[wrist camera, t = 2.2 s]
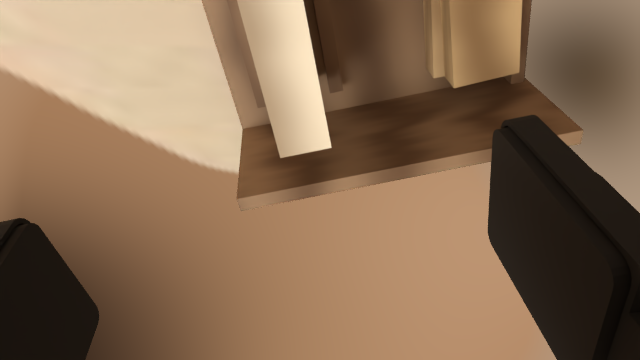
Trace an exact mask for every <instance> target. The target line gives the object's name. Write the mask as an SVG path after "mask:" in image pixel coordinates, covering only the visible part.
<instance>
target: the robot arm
mask: <svg viewBox="0 0 640 360" xmlns="http://www.w3.org/2000/svg"><path fill="white" fill-rule="evenodd" d="M488 235H489V239H490V242H491V245H492V246H493V248H494V250H495V252H496V254H497V255H498V257H499V259H500V260H501V262H502V264H503V266H504V268H505V269H506V271H507V273H508V274H509V276H510V278H511V280H512V282H513V283H514V285H515V287H516V289H517V290H518V292H519V294H520V295H521V297H522V299H523V301H524V303H525V304H526V306H527V308H528V310H529V311H530V313H531V315H532V317H533V318H534V320H535V322H536V324H537V325H538V327H539V329H540V330H541V332H542V334H543V336H544V338H545V339H546V341H547V343H548V345H549V346H550V348H551V350H552V352H553V353H554V355H555V357H556V359H557V360H640V213H639V212H638V211H637V210H636V209H635V208H634V207H633V206H631V204H630V203H629V202H628V201H626V200H625V199H624V198H623V197H622V196H621V195H620V194H619V193H618V192H617V191H616V190H615V189H614V188H613V187H612V186H611V185H610V184H609V183H608V182H607V181H606V180H605V179H604V178H603V177H601V176H600V175H599V174H597V173H596V172H594V171H593V170H592V169H591V168H590V167H589V166H588V165H587V164H586V163H585V162H584V161H583V160H582V159H581V158H580V157H579V156H578V155H577V154H576V153H575V152H573V150H572V149H571V148H569V146H568V145H566V144H565V143H564V142H563V141H562V140H561V139H560V138H559V137H558V136H557V135H556V134H555V133H554V132H553V131H552V130H551V129H550V128H549V127H548V126H547V125H546V124H545V123H544V122H543V121H542V120H541V119H540V118H539V117H538V116H536V115H528V116H523V117H518V118H513V119H508V120H505V121H503V123H502V125H501V129H496V130H495V131H494V132H493V138H492V158H491V177H490V196H489V217H488ZM98 321H99V311H98V308H97V306H96V305H95V303H94V302H93V300H92V299H91V298H90V296H89V295H88V293H87V292H86V291H85V289H84V288H83V287H82V285H81V284H80V282H79V281H78V279H77V278H76V277H75V275H74V274H73V273H72V271H71V270H70V269H69V267H68V266H67V264H66V263H65V262H64V260H63V259H62V257H61V256H60V255H59V253H58V252H57V251H56V249H55V248H54V246H53V245H52V244H51V242H50V241H49V239H48V238H47V237H46V236H45V234H44V232H43V231H42V230H41V228H40V227H39V226H38V225H36V224H34V223H30V222H29V221H28V220H26V219H22V218H18V219H13V220H8V221H3V222H0V360H85V359H86V356H87V353H88V350H89V347H90V345H91V342H92V339H93V336H94V333H95V331H96V328H97V325H98Z"/></svg>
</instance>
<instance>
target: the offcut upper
mask: <svg viewBox="0 0 640 360" xmlns="http://www.w3.org/2000/svg"><path fill="white" fill-rule="evenodd" d="M440 7H441V23H442V39H443V55H444V71H445V78H446V79H447V80H448V81H449V83H450V84H451V85H452V87H453V88H458V87H462V86H466V85H470V84H474V83H478V82H482V81H487V80H491V79H495V78H499V77H503V76H507V75H511V74H516V73H519V67H520V42H521V18H522V0H440Z"/></svg>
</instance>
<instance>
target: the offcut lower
mask: <svg viewBox="0 0 640 360" xmlns="http://www.w3.org/2000/svg"><path fill="white" fill-rule="evenodd" d="M423 9H424V32H425V55H426V68H427V70H428V71H429V73H430V74H431V75H432V77H433V78H438V77H443V76H445V71H444V55H443V39H442V23H441V7H440V0H423Z"/></svg>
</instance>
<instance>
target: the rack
mask: <svg viewBox="0 0 640 360" xmlns="http://www.w3.org/2000/svg"><path fill="white" fill-rule="evenodd" d="M531 1H532V0H522V18H521V42H520V67H519V73H516V74H511V75H507V76H503V77H499V78H495V79H491V80H487V81H482V82H478V83H474V84H470V85H466V86H462V87H458V88H453V87H452V85H451V84H450V83H449V81H448V80H447V79H446V78H445V76H443V77H438V78H433V77H432V75H431V74H430V73H429V71H428V70H427V68H426V55H425V32H424V9H423V0H303V2H304V7H305V12H306V17H307V23H308V28H309V33H310V38H311V43H312V49H313V54H314V59H315V64H316V69H317V74H318V80H319V85H320V90H321V95H322V100H323V106H324V111H325V116H326V121H327V126H328V132H329V137H330V142H331V147H332V148H328V149H323V150H318V151H313V152H308V153H303V154H298V155H293V156H288V157H283V158H280V155H279V151H278V148H277V144H276V140H275V137H274V133H273V129H272V126H271V122H270V118H269V115H268V111H267V108H266V104H265V100H264V97H263V93H262V89H261V86H260V82H259V79H258V75H257V71H256V68H255V64H254V60H253V57H252V53H251V50H250V46H249V42H248V39H247V35H246V31H245V28H244V24H243V20H242V17H241V13H240V10H239V6H238V2H237V0H202V3H203V6H204V9H205V12H206V16H207V19H208V22H209V25H210V28H211V31H212V34H213V38H214V41H215V44H216V47H217V50H218V53H219V56H220V59H221V63H222V66H223V69H224V72H225V75H226V78H227V81H228V84H229V88H230V91H231V94H232V97H233V100H234V103H235V106H236V109H237V113H238V116H239V119H240V122H241V125H242V128H243V133H242V144H241V155H240V167H239V178H238V190H237V201H238V204H239V207H240V210H241V211H244V210H249V209H254V208H259V207H264V206H269V205H274V204H279V203H284V202H289V201H294V200H299V199H304V198H309V197H315V196H320V195H325V194H330V193H335V192H340V191H345V190H349V189H355V188H360V187H364V186H370V185H375V184H380V183H385V182H390V181H395V180H400V179H405V178H410V177H415V176H420V175H425V174H430V173H435V172H441V171H445V170H451V169H455V168H460V167H466V166H470V165H476V164H481V163H486V162H491V158H492V138H493V132H494V131H495V130H496V129H501V125H502V123H503V121H505V120H508V119H513V118H518V117H523V116H528V115H536V116H538V117H539V118H540V119H541V120H542V121H543V122H544V123H545V124H546V125H547V126H548V127H549V128H550V129H551V130H552V131H553V132H554V133H555V134H556V135H557V136H558V137H559V138H560V139H561V140H562V141H563V142H564V143H565V144H566V145H568V146H571V145H577V144H581V140H582V135H583V129H582V128H580V127H579V126H578V125H577V124H576V123H575V122H574V121H572V120H571V119H570V118H569V117H568V116H567V115H566V114H565V113H564V112H562V111H561V110H560V109H559V108H558V107H557V106H556V105H555V104H554V103H552V102H551V101H550V100H549V99H548V98H547V97H546V96H544V95H543V94H542V93H541V92H540V91H539V90H538V89H537V88H535V87H534V86H533V85H532V84H531V83H530V82H529V81H528V80H527V79H526V78H524V77H525V66H526V55H527V44H528V34H529V22H530V12H531Z"/></svg>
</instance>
